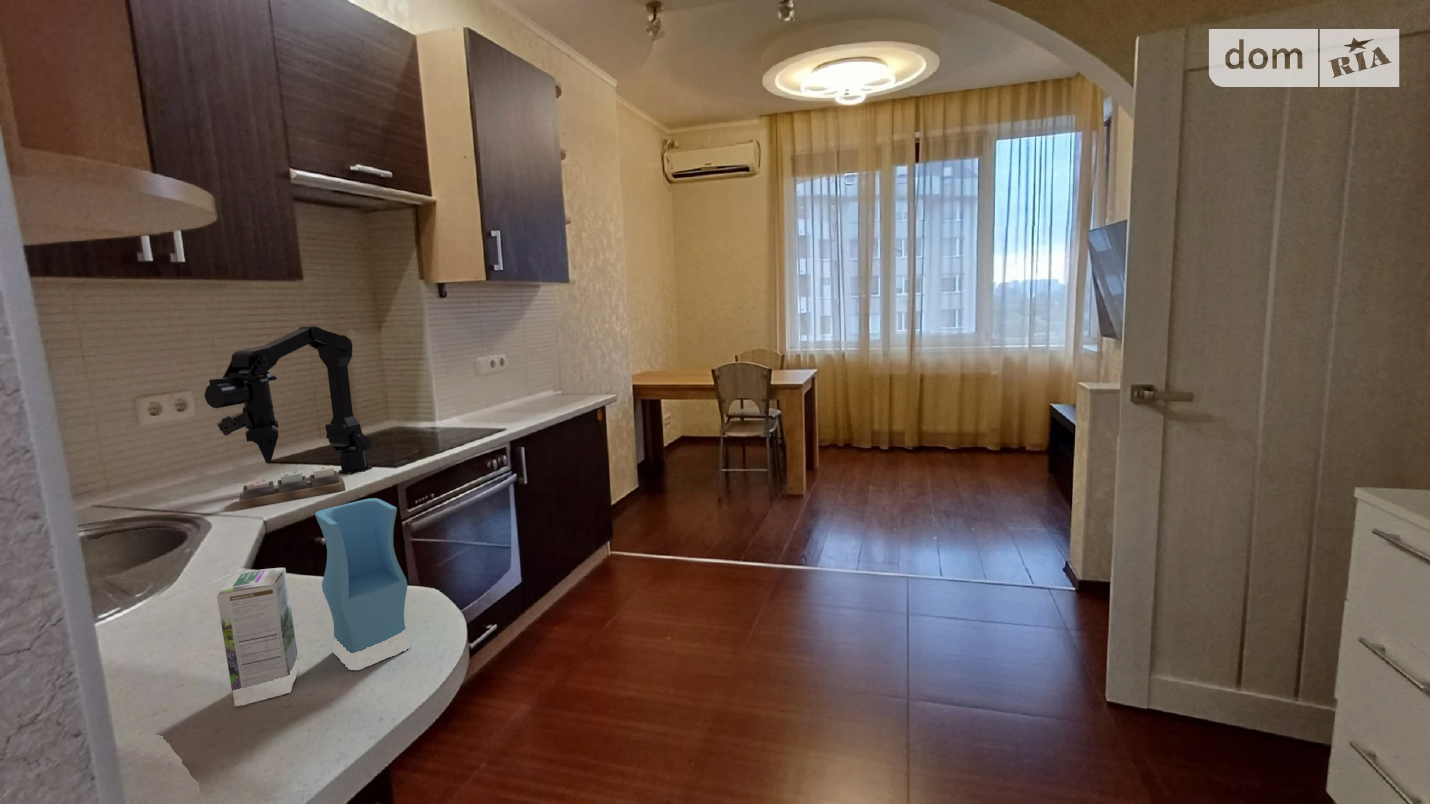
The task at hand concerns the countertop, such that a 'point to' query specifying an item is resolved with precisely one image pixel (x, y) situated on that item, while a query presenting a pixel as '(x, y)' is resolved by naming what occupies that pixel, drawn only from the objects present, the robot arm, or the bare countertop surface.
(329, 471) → the tile one
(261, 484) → the tile three
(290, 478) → the tile two
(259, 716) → the countertop surface
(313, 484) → the digit board
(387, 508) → the blue tall chair-shaped block
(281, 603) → the syrup box
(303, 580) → the countertop surface
